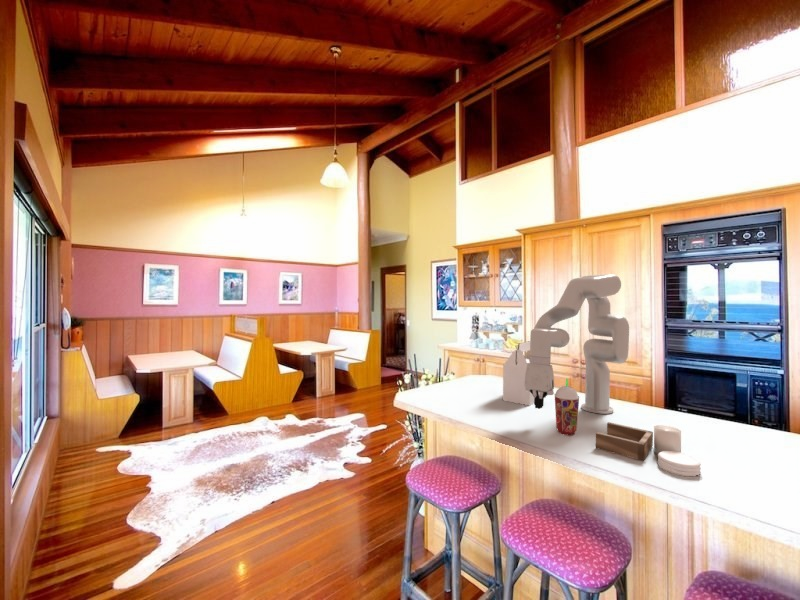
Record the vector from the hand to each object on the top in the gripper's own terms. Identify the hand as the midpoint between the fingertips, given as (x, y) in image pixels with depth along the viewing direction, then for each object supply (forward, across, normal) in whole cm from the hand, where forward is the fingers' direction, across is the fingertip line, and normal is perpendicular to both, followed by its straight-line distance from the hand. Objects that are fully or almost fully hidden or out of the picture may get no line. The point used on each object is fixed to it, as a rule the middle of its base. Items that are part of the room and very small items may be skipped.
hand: (538, 407), depth 142 cm
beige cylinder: (+7, +40, +5) cm, 41 cm away
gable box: (+7, -21, +34) cm, 40 cm away
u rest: (+7, +28, +1) cm, 29 cm away
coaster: (+8, +44, -5) cm, 45 cm away
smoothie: (+7, +10, +1) cm, 13 cm away
